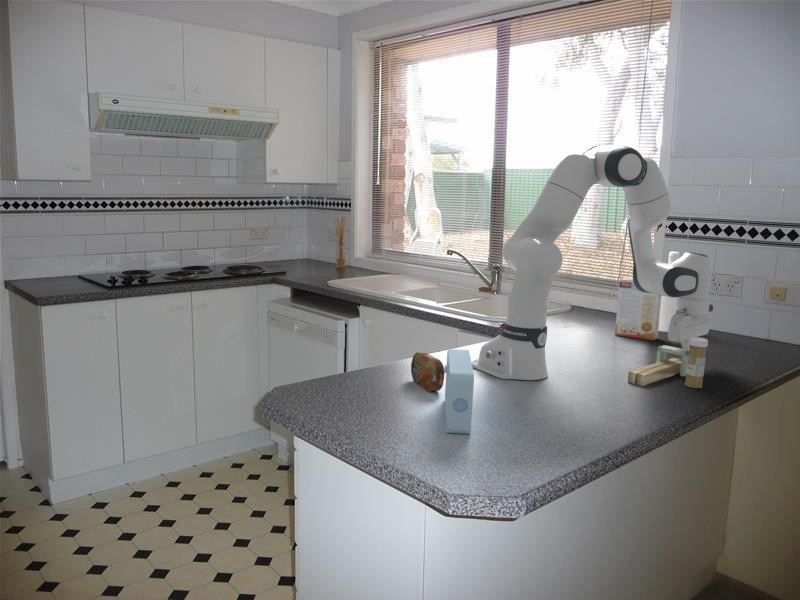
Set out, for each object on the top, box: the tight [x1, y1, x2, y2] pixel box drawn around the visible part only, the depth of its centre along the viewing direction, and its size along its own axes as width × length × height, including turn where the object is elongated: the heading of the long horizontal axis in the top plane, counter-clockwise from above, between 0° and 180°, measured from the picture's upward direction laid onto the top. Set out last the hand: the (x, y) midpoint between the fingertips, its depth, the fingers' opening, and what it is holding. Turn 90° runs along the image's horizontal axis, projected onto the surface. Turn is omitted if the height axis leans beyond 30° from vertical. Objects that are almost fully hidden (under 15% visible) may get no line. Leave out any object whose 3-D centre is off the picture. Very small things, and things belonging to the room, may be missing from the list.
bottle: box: [658, 251, 681, 333], centre depth 260 cm, size 8×8×30 cm
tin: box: [410, 351, 445, 392], centre depth 178 cm, size 15×3×8 cm, turn 23°
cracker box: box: [614, 277, 662, 341], centre depth 248 cm, size 14×6×21 cm, turn 58°
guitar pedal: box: [444, 348, 475, 435], centre depth 156 cm, size 23×6×13 cm, turn 177°
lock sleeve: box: [655, 344, 689, 377], centre depth 202 cm, size 8×4×7 cm, turn 43°
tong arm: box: [635, 361, 682, 387], centre depth 196 cm, size 2×24×3 cm, turn 133°
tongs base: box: [627, 357, 682, 385], centre depth 198 cm, size 3×27×3 cm, turn 133°
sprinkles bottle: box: [684, 336, 709, 389], centre depth 188 cm, size 5×5×14 cm
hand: (686, 352), depth 207 cm, fingers closed
